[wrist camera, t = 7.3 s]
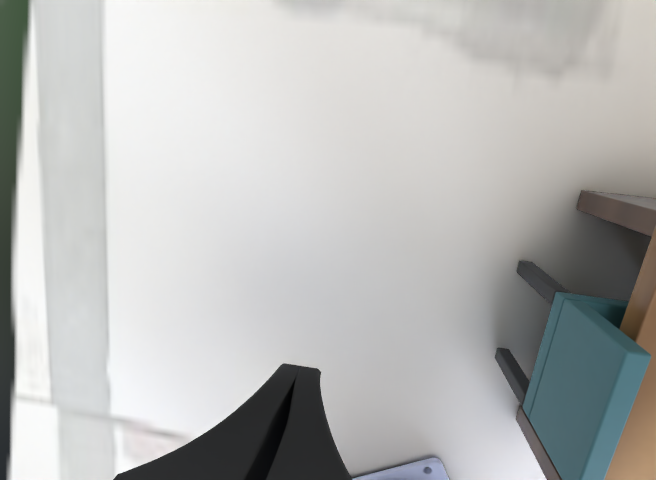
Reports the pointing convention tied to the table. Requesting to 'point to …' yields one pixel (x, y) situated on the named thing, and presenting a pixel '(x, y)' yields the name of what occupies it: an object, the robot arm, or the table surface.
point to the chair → (578, 378)
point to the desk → (638, 324)
